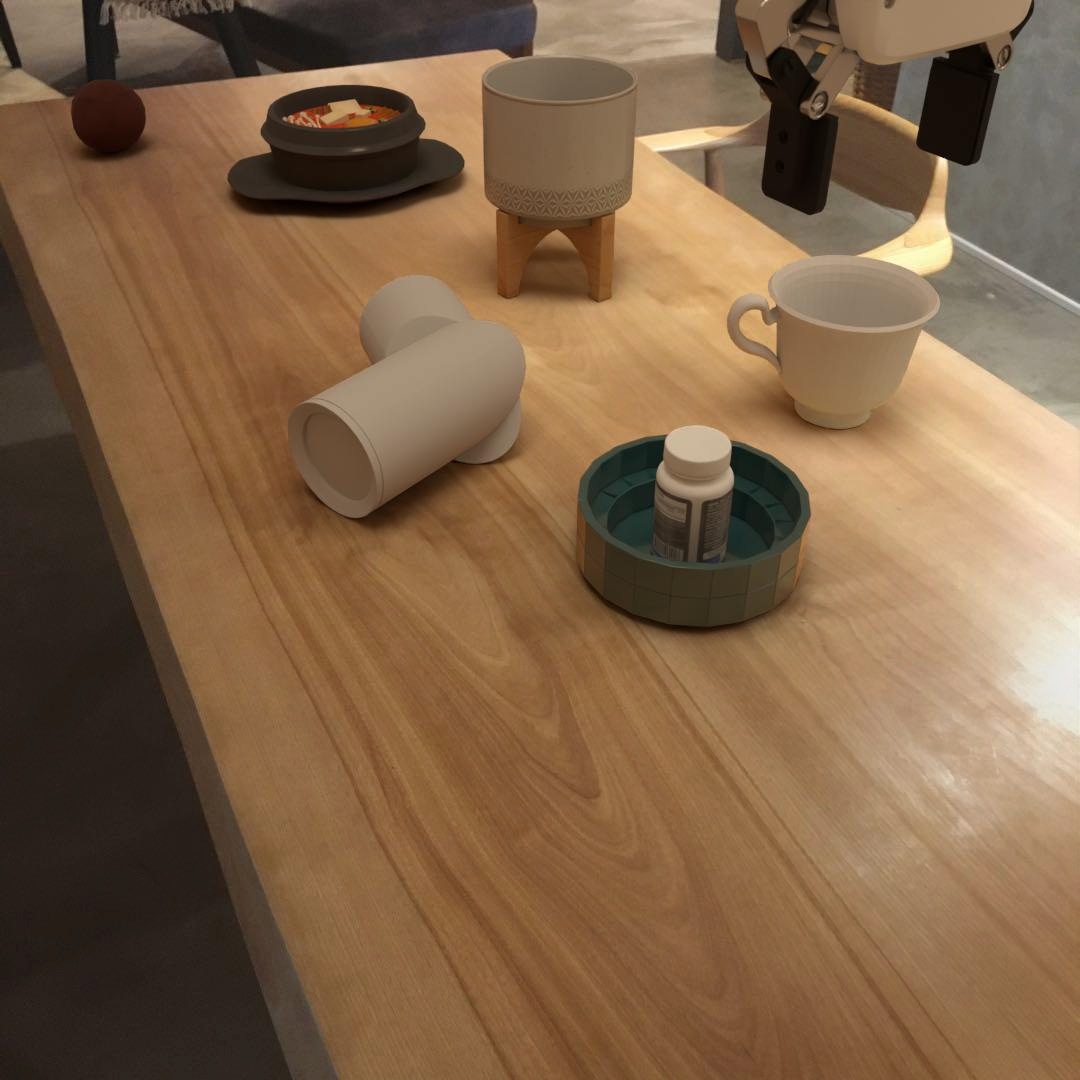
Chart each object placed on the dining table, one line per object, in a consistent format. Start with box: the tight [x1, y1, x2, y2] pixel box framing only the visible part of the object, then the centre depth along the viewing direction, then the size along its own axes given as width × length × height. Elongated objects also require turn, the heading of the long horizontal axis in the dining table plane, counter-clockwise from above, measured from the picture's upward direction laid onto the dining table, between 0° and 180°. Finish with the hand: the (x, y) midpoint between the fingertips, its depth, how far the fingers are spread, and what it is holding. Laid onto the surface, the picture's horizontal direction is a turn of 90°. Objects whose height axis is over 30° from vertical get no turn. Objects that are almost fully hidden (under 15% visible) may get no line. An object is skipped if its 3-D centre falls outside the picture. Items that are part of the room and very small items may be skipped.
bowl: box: [575, 433, 812, 628], centre depth 74 cm, size 14×14×5 cm
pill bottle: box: [652, 424, 734, 563], centre depth 73 cm, size 5×5×8 cm
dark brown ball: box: [70, 78, 147, 153], centre depth 132 cm, size 8×9×8 cm
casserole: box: [227, 84, 466, 205], centre depth 123 cm, size 25×19×8 cm
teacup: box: [726, 254, 941, 430], centre depth 87 cm, size 12×15×10 cm
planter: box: [481, 54, 639, 302], centre depth 103 cm, size 13×13×18 cm
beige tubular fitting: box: [287, 274, 527, 519], centre depth 83 cm, size 18×11×20 cm
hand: (872, 179), depth 51 cm, fingers open, 9 cm apart
